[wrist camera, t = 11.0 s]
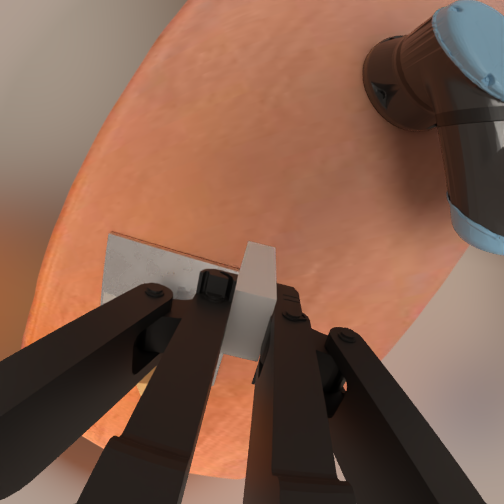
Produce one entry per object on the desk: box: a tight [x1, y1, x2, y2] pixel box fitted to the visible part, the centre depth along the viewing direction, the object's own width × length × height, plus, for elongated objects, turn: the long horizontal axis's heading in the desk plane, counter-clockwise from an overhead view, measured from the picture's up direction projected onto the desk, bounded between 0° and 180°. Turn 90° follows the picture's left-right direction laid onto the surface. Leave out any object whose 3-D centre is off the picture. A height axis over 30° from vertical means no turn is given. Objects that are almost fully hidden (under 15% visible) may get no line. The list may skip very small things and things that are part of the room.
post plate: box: [101, 232, 240, 386], centre depth 47 cm, size 22×22×6 cm
